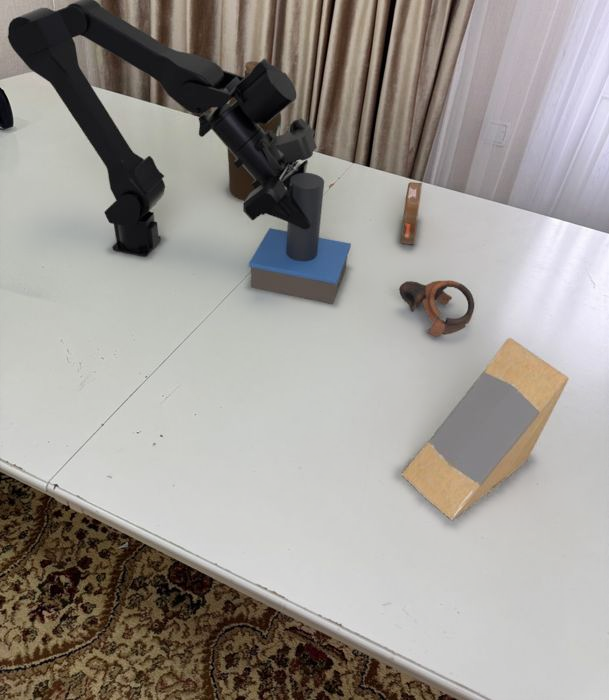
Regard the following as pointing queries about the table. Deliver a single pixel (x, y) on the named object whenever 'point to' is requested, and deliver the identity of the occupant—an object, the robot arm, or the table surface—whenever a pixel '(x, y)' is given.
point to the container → (299, 268)
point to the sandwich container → (488, 430)
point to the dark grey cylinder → (310, 202)
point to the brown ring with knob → (428, 294)
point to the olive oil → (237, 176)
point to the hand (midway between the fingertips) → (312, 219)
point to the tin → (411, 213)
